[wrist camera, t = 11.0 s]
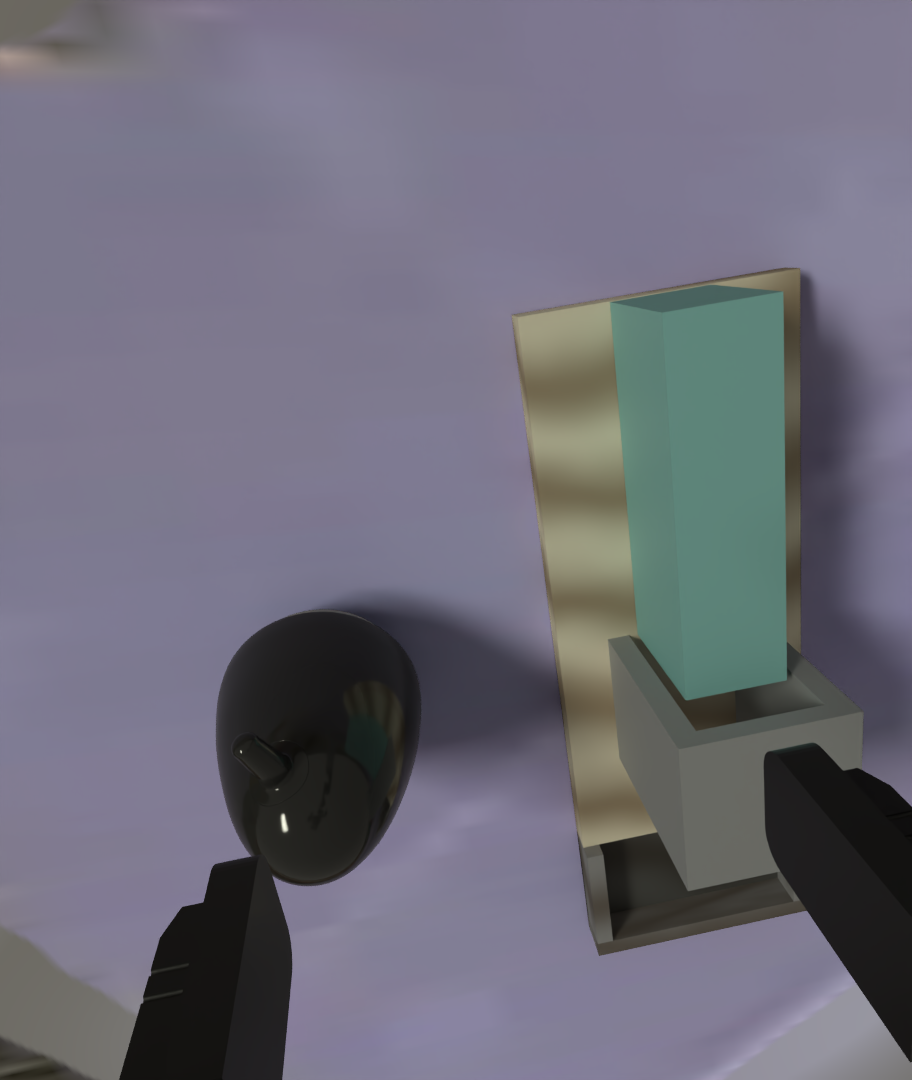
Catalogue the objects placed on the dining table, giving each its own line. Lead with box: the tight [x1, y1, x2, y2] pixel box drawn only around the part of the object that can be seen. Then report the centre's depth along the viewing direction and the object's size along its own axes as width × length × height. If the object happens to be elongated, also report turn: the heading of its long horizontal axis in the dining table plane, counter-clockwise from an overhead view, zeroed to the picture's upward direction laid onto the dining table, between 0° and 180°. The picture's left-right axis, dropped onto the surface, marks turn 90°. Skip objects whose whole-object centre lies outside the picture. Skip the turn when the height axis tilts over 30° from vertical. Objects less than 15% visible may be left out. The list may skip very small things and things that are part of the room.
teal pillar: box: [610, 285, 787, 701], centre depth 38 cm, size 18×5×7 cm, turn 9°
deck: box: [512, 268, 807, 956], centre depth 46 cm, size 40×14×2 cm, turn 9°
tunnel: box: [608, 635, 863, 891], centre depth 41 cm, size 8×8×10 cm
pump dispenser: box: [216, 609, 421, 886], centre depth 38 cm, size 10×10×15 cm
